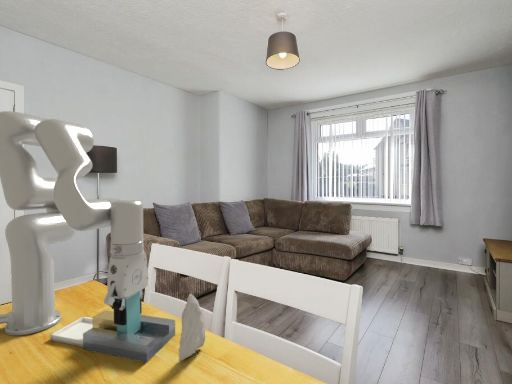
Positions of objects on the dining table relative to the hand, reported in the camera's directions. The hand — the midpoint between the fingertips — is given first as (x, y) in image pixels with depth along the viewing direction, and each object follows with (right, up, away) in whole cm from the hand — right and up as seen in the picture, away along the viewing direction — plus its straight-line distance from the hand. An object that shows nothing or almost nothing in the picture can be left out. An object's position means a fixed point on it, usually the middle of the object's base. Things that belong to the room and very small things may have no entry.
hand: (128, 318), depth 71 cm
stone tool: (+18, -7, -5) cm, 20 cm away
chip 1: (-7, -4, +2) cm, 8 cm away
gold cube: (-3, -4, +1) cm, 5 cm away
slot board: (+1, -6, 0) cm, 6 cm away
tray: (-14, -6, +4) cm, 15 cm away
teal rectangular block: (0, -4, 0) cm, 4 cm away
